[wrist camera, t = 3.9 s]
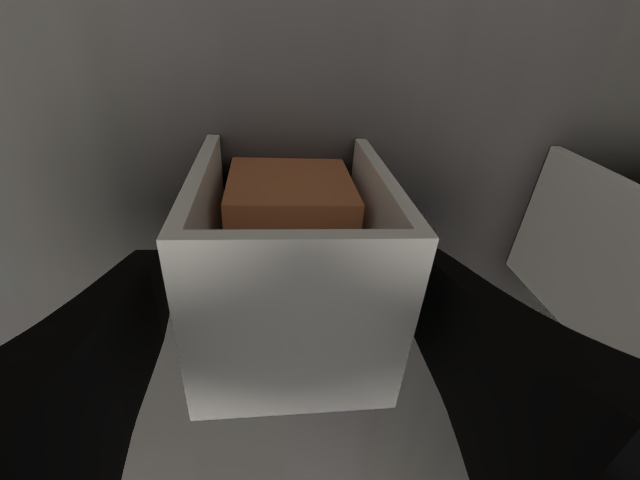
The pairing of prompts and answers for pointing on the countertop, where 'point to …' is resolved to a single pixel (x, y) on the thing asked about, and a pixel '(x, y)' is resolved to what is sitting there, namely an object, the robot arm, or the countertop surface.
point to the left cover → (293, 299)
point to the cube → (290, 195)
